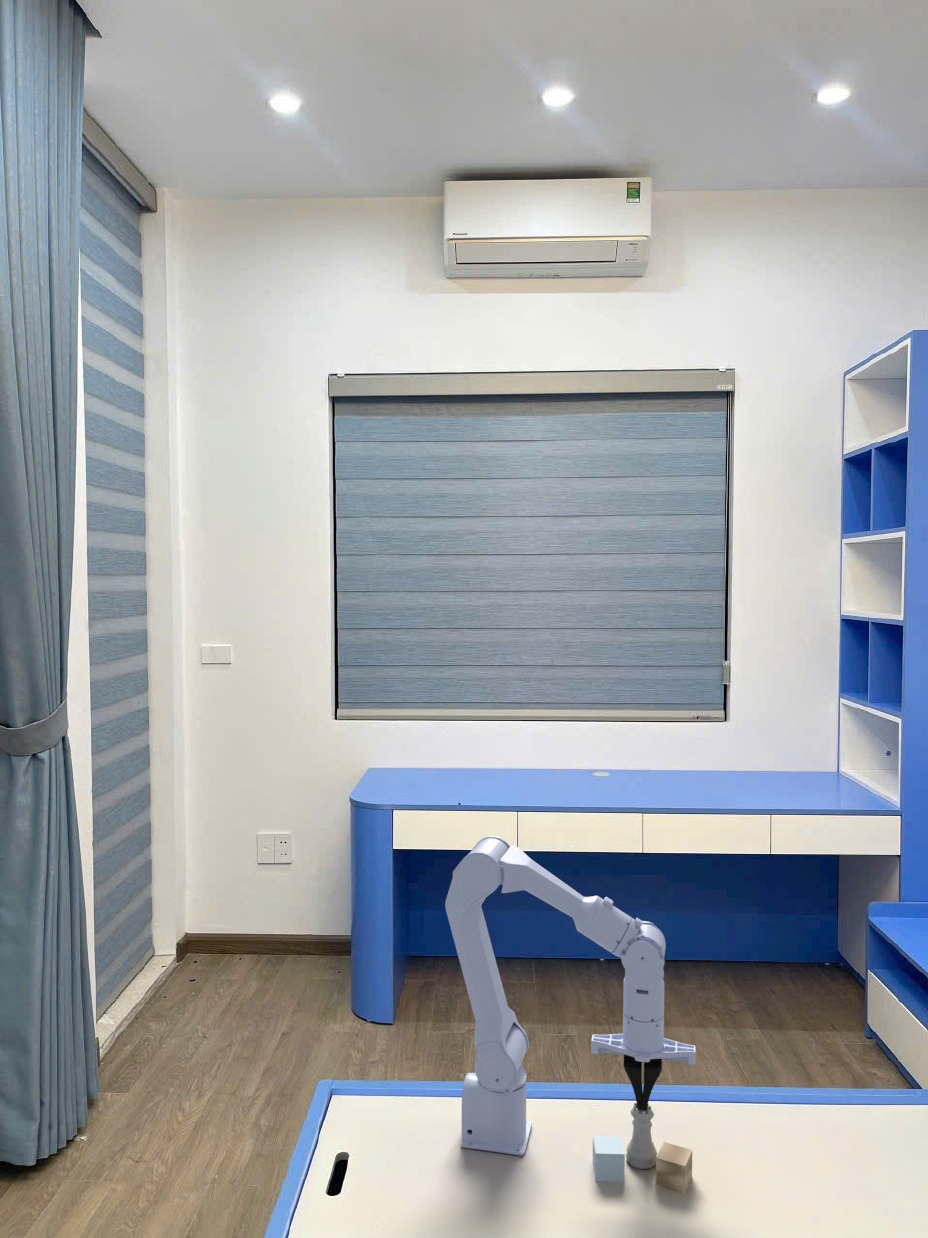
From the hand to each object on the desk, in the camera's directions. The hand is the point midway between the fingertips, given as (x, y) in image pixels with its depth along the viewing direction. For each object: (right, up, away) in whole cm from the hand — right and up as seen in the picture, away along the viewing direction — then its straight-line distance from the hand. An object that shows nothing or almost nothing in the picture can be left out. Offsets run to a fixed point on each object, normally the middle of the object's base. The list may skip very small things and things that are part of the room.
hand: (642, 1106), depth 131 cm
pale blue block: (-5, -8, -2) cm, 10 cm away
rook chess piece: (0, -8, 0) cm, 8 cm away
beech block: (+4, -8, -4) cm, 10 cm away
